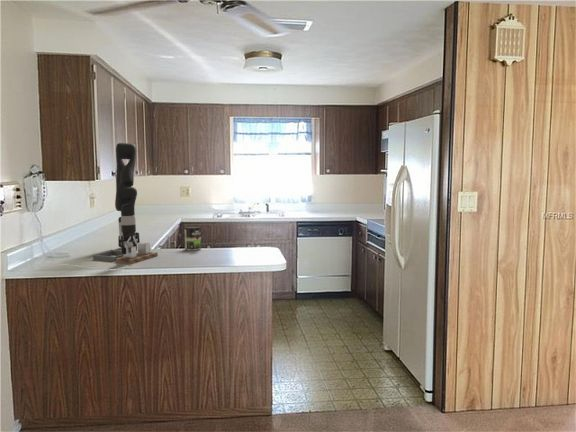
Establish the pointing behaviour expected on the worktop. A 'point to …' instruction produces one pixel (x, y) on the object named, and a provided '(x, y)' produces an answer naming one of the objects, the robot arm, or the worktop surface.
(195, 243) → the coffee can
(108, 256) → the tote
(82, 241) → the worktop surface
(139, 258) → the pallet
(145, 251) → the block
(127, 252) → the block
